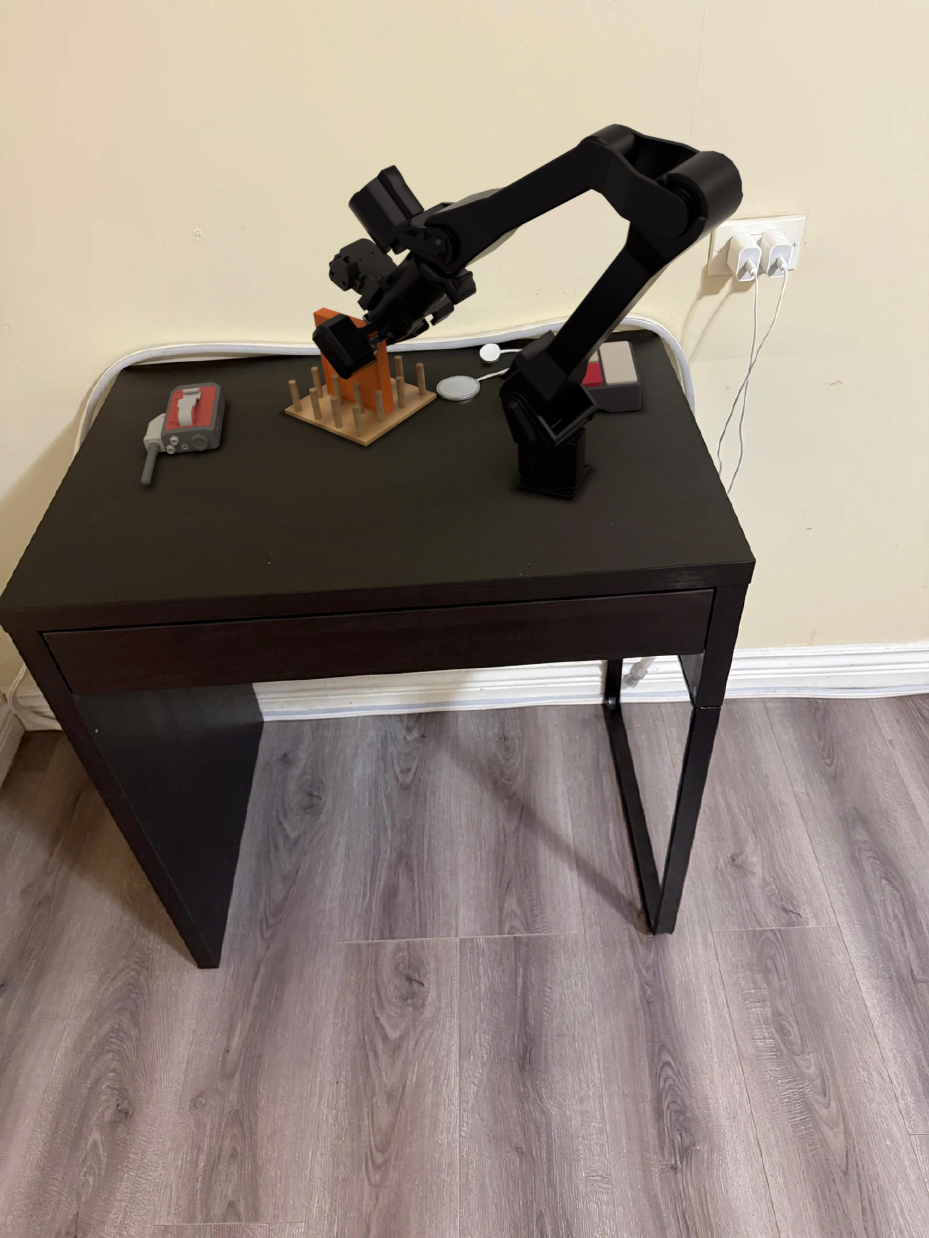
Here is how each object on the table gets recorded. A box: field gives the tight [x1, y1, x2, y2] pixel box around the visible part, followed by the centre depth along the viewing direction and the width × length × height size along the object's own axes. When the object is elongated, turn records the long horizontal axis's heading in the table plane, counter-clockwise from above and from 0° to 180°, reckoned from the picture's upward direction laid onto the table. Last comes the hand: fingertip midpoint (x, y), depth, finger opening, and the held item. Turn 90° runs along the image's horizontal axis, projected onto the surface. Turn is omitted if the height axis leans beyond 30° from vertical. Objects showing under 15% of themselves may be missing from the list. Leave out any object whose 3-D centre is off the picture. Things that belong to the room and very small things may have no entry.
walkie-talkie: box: [140, 381, 226, 486], centre depth 110 cm, size 9×4×20 cm
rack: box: [284, 355, 437, 447], centre depth 113 cm, size 14×13×5 cm
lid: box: [312, 307, 394, 416], centre depth 111 cm, size 10×2×11 cm, turn 52°
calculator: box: [514, 340, 642, 413], centre depth 113 cm, size 11×4×15 cm
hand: (356, 355), depth 110 cm, fingers open, 5 cm apart
